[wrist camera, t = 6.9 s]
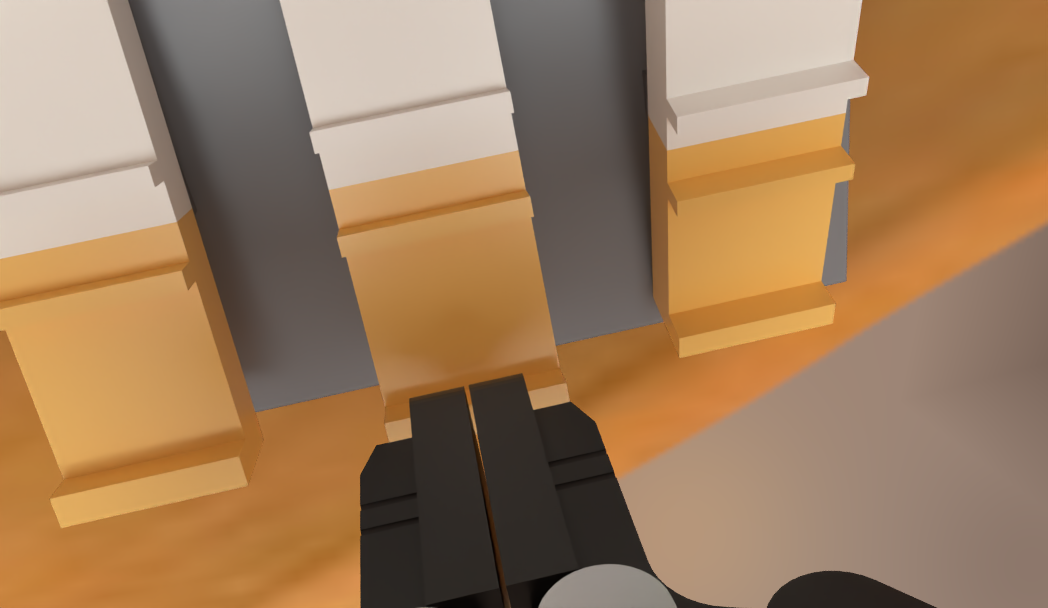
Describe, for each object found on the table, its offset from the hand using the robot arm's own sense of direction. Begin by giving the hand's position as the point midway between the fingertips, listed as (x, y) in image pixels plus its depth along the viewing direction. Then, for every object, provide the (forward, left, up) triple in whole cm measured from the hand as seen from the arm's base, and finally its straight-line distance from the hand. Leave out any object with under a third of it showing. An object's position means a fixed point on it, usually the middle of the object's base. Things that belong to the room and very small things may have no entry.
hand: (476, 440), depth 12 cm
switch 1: (+1, -5, -4) cm, 7 cm away
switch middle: (-2, -1, -4) cm, 5 cm away
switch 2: (-5, +3, -4) cm, 7 cm away
